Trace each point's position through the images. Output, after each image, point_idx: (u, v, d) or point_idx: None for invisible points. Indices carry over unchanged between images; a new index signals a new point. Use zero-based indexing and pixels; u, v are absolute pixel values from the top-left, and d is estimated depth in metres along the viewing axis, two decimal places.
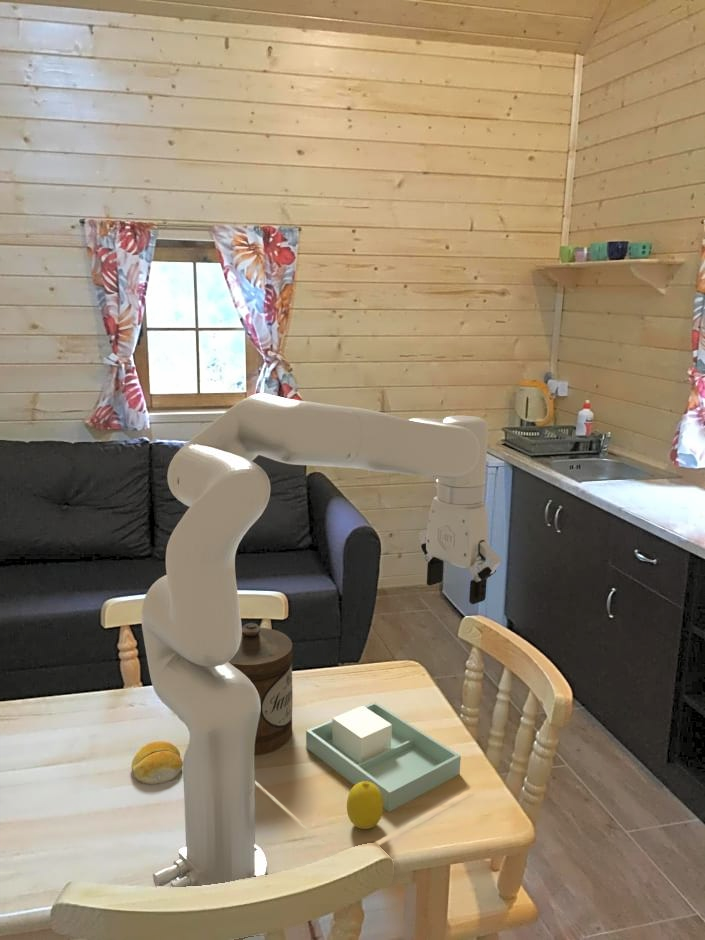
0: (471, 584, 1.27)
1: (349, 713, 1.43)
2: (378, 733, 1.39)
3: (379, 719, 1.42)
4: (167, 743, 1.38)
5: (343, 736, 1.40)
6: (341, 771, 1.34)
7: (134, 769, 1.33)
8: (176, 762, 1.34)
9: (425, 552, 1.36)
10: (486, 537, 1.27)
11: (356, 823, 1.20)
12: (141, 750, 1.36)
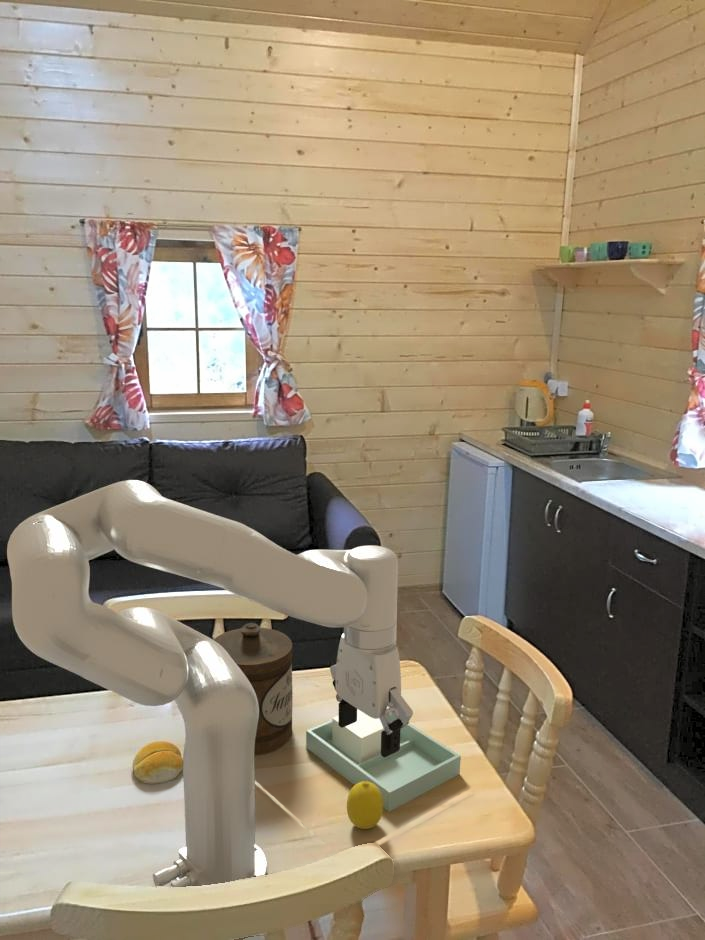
0: (382, 736, 1.13)
1: None
2: (378, 733, 1.39)
3: (379, 719, 1.42)
4: (168, 743, 1.38)
5: (343, 736, 1.40)
6: (341, 771, 1.34)
7: (135, 769, 1.33)
8: (177, 762, 1.34)
9: None
10: (398, 684, 1.13)
11: (356, 823, 1.20)
12: (142, 750, 1.36)
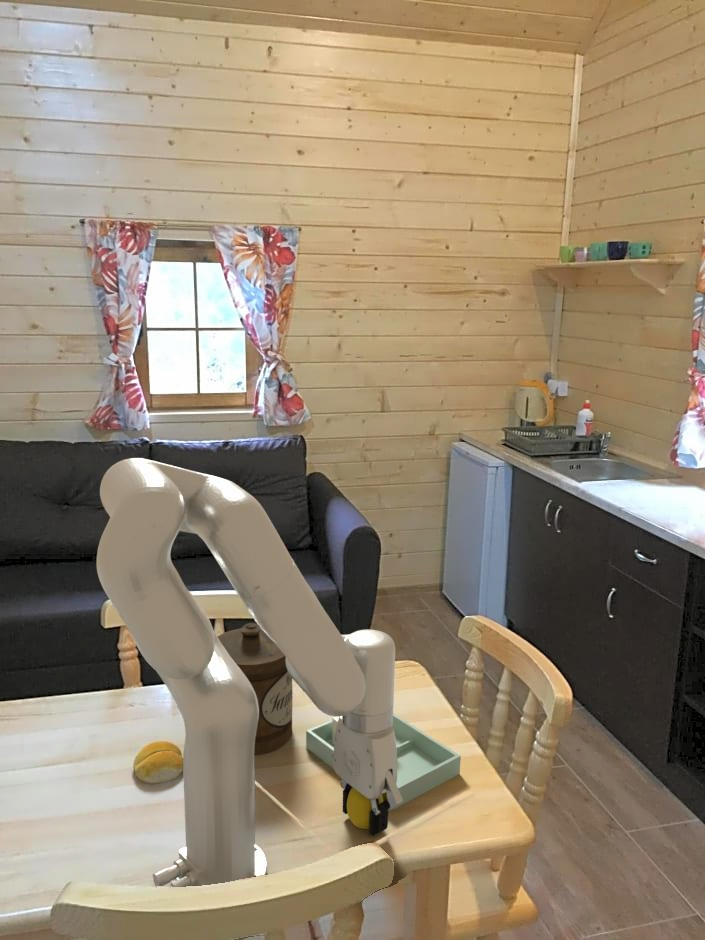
0: (370, 816, 1.18)
1: None
2: None
3: None
4: (169, 743, 1.38)
5: None
6: None
7: (136, 769, 1.33)
8: (178, 762, 1.34)
9: (341, 776, 1.24)
10: (394, 765, 1.16)
11: (356, 823, 1.20)
12: (143, 750, 1.36)
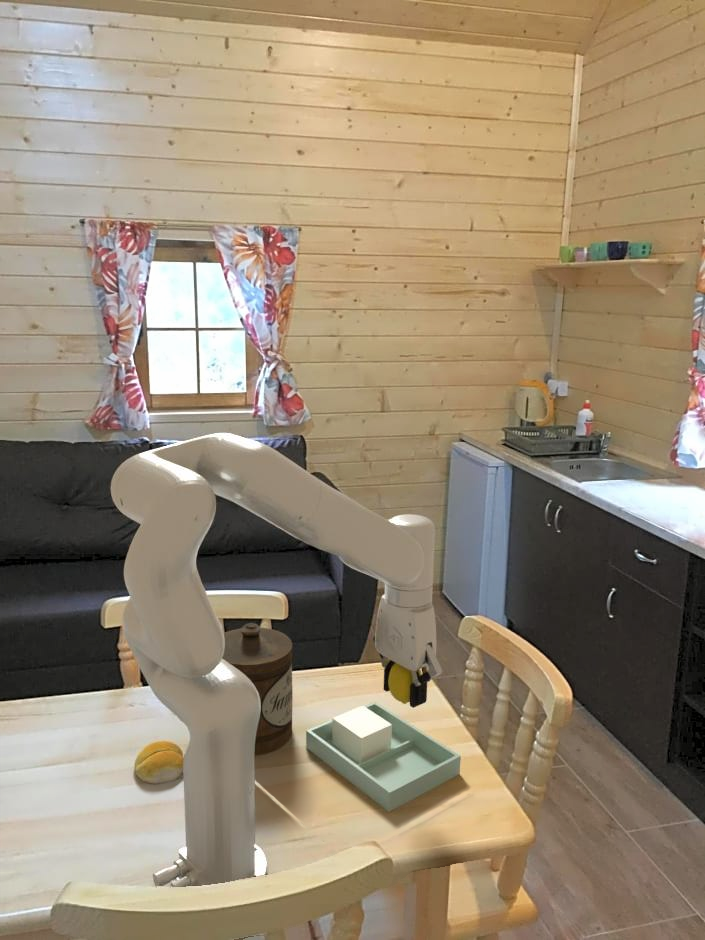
0: (411, 688, 1.27)
1: (349, 713, 1.43)
2: (378, 733, 1.39)
3: (379, 719, 1.42)
4: (170, 743, 1.38)
5: (343, 736, 1.40)
6: (341, 771, 1.34)
7: (137, 769, 1.33)
8: (180, 761, 1.34)
9: (382, 657, 1.33)
10: (434, 639, 1.25)
11: (397, 696, 1.28)
12: (144, 750, 1.36)
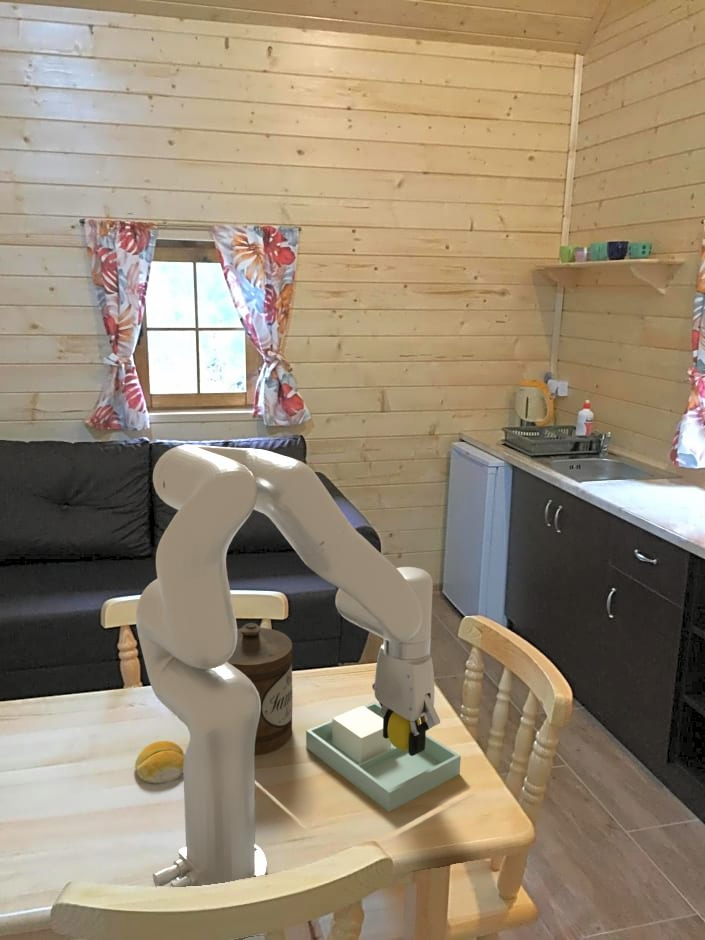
0: (410, 737, 1.29)
1: (349, 713, 1.43)
2: (378, 733, 1.39)
3: (379, 719, 1.42)
4: (170, 742, 1.38)
5: (343, 736, 1.40)
6: (341, 771, 1.34)
7: (138, 769, 1.33)
8: (180, 761, 1.34)
9: (381, 704, 1.35)
10: (432, 690, 1.27)
11: (397, 744, 1.31)
12: (145, 750, 1.36)
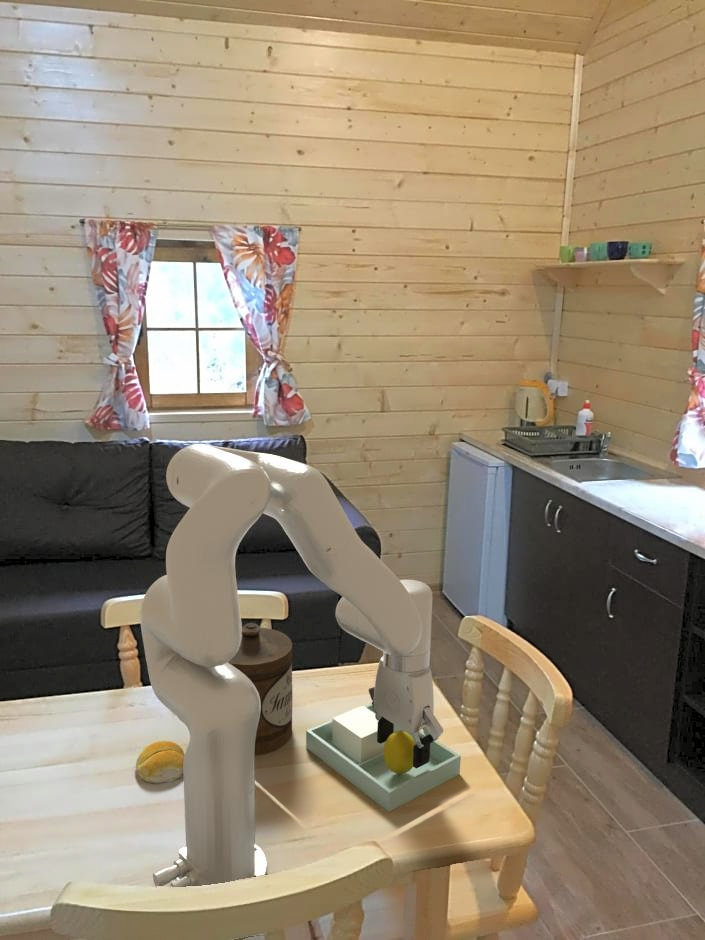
0: (414, 749, 1.28)
1: (349, 713, 1.43)
2: None
3: None
4: (171, 742, 1.38)
5: (343, 736, 1.40)
6: (341, 771, 1.34)
7: (138, 769, 1.33)
8: (181, 761, 1.34)
9: None
10: (431, 702, 1.28)
11: (393, 768, 1.32)
12: (145, 750, 1.36)
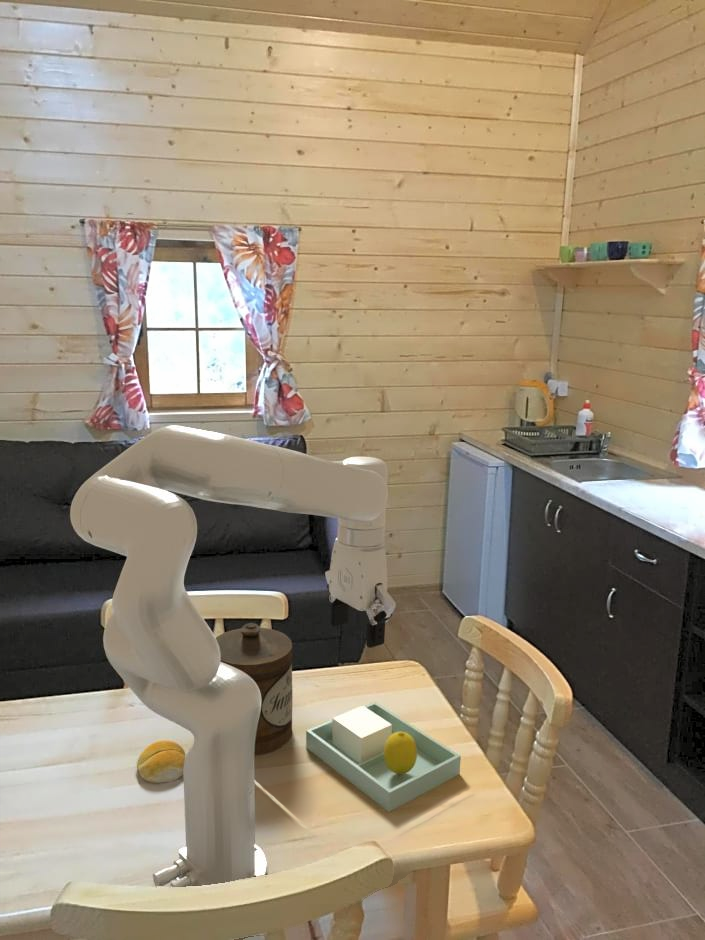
0: (368, 627, 1.26)
1: (349, 713, 1.43)
2: (378, 733, 1.39)
3: (379, 719, 1.42)
4: (172, 742, 1.38)
5: (343, 736, 1.40)
6: (341, 771, 1.34)
7: (139, 768, 1.33)
8: (182, 761, 1.34)
9: (330, 592, 1.35)
10: (384, 581, 1.26)
11: (393, 768, 1.32)
12: (146, 749, 1.36)
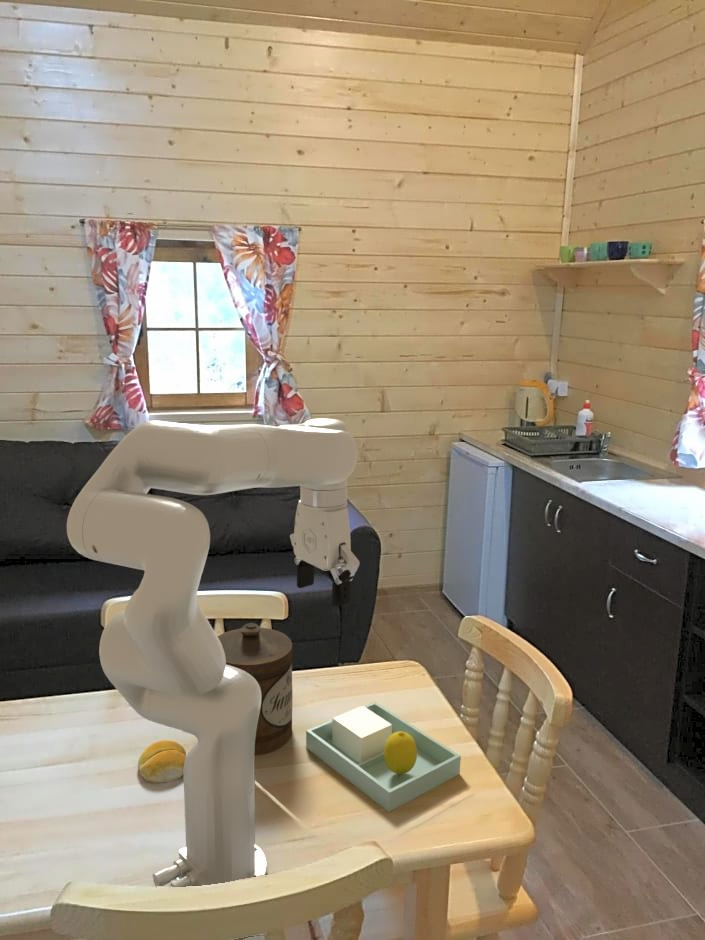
0: (333, 587, 1.28)
1: (349, 713, 1.43)
2: (378, 733, 1.39)
3: (379, 719, 1.42)
4: (173, 742, 1.38)
5: (343, 736, 1.40)
6: (341, 771, 1.34)
7: (140, 768, 1.33)
8: (183, 761, 1.34)
9: (295, 554, 1.36)
10: (348, 540, 1.28)
11: (393, 768, 1.32)
12: (147, 749, 1.36)
